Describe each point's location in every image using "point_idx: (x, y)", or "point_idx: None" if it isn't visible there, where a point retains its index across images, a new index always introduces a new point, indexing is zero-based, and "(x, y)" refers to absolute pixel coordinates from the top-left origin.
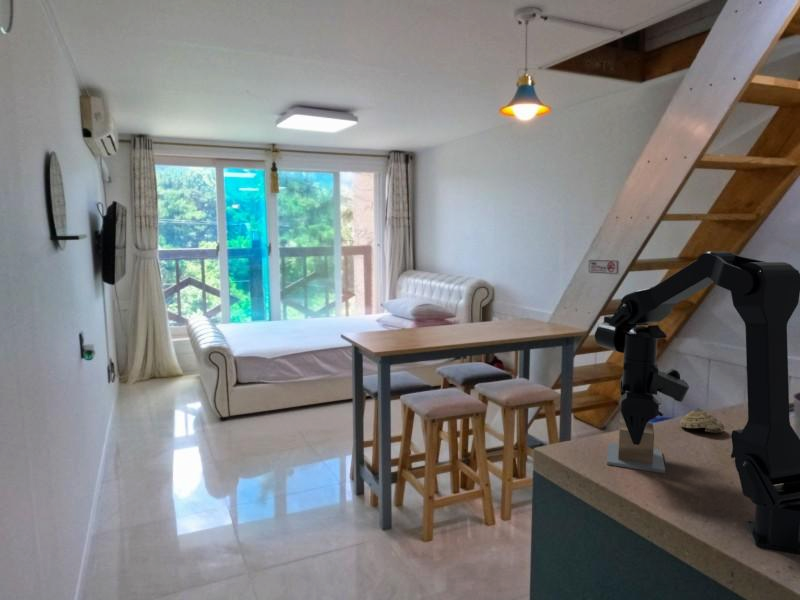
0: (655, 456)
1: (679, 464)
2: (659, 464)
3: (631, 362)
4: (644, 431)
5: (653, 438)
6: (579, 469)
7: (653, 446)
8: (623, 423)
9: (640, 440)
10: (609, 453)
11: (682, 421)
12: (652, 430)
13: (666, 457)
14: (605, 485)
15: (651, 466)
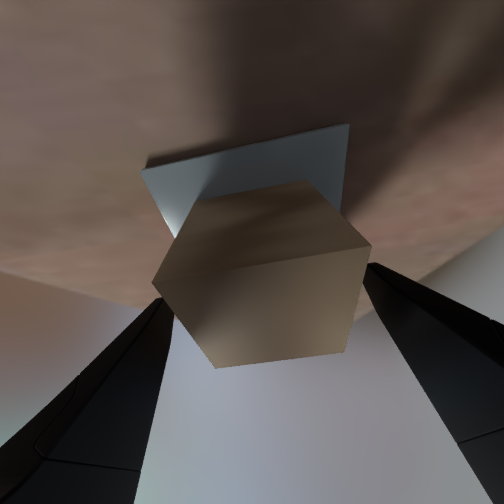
0: (225, 180)
1: (214, 67)
2: (298, 155)
3: None
4: (340, 292)
5: (355, 231)
6: (371, 302)
7: (333, 207)
8: (259, 356)
9: (400, 274)
10: None
11: None
12: (303, 264)
13: (174, 140)
14: (451, 254)
15: (327, 179)
